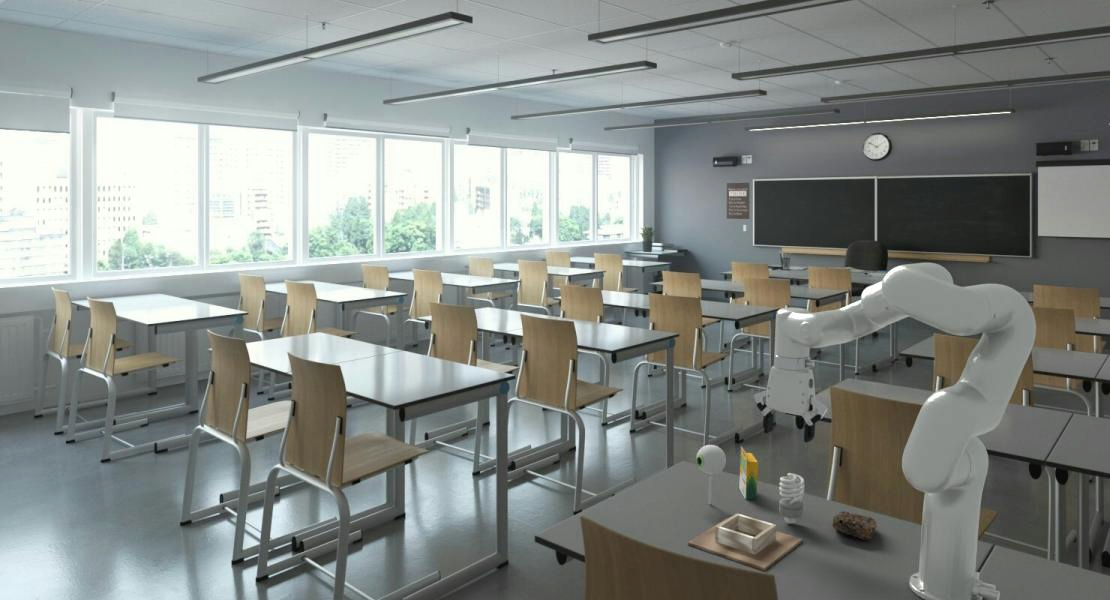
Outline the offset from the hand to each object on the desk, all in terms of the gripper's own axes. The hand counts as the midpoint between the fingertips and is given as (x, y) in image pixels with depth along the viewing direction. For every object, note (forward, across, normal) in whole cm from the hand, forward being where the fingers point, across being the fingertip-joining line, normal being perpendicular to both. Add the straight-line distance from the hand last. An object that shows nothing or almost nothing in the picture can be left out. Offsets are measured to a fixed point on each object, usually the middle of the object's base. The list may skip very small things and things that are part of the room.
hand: (788, 436), depth 179 cm
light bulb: (+21, -1, -1) cm, 21 cm away
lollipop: (+21, +19, +1) cm, 29 cm away
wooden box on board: (+21, +2, +15) cm, 26 cm away
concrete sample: (+21, -14, -6) cm, 26 cm away
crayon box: (+21, +15, -11) cm, 28 cm away
